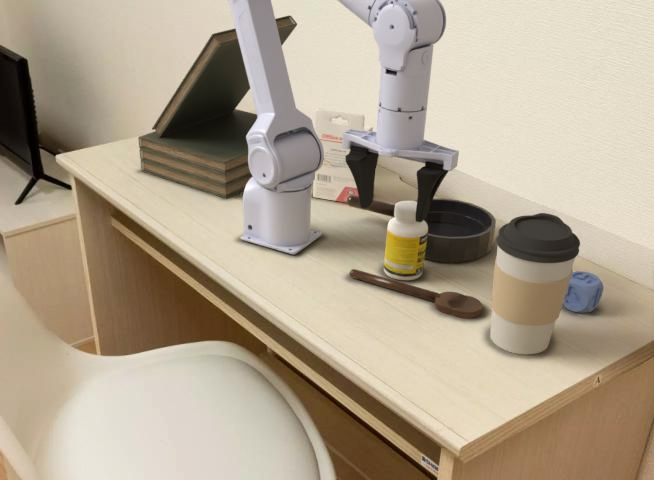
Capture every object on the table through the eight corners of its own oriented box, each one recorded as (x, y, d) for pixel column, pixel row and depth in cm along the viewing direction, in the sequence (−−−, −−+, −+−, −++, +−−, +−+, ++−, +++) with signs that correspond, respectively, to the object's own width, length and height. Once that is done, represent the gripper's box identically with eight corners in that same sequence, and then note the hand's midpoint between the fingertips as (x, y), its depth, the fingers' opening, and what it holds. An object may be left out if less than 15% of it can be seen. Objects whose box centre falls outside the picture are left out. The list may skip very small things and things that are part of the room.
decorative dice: (585, 316, 100) (592, 289, 98) (556, 305, 102) (562, 278, 100) (599, 305, 103) (606, 278, 101) (571, 294, 105) (577, 267, 103)
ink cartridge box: (370, 195, 132) (376, 107, 124) (360, 206, 128) (366, 115, 120) (322, 187, 135) (325, 100, 127) (311, 197, 131) (313, 108, 123)
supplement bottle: (421, 283, 107) (428, 216, 101) (381, 279, 107) (386, 212, 102) (424, 265, 111) (432, 200, 106) (385, 261, 112) (391, 196, 107)
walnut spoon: (342, 282, 106) (342, 274, 106) (357, 269, 110) (357, 262, 109) (473, 321, 99) (475, 313, 98) (486, 306, 102) (487, 298, 101)
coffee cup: (543, 368, 90) (569, 249, 82) (469, 344, 94) (487, 228, 86) (567, 333, 97) (593, 219, 89) (496, 312, 101) (515, 201, 93)
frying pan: (378, 248, 115) (380, 223, 113) (418, 215, 126) (420, 191, 124) (471, 273, 110) (475, 247, 107) (504, 236, 120) (509, 211, 118)
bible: (227, 138, 155) (222, 1, 142) (308, 160, 146) (311, 16, 132) (140, 170, 139) (126, 20, 126) (225, 198, 130) (220, 38, 116)
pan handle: (344, 206, 123) (345, 196, 122) (349, 203, 124) (350, 192, 123) (399, 220, 119) (400, 209, 118) (404, 216, 120) (405, 205, 119)
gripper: (332, 103, 93) (328, 210, 101) (447, 124, 87) (434, 237, 95) (359, 89, 99) (353, 192, 106) (470, 109, 93) (456, 216, 100)
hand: (393, 212), depth 101 cm, fingers open, 7 cm apart
